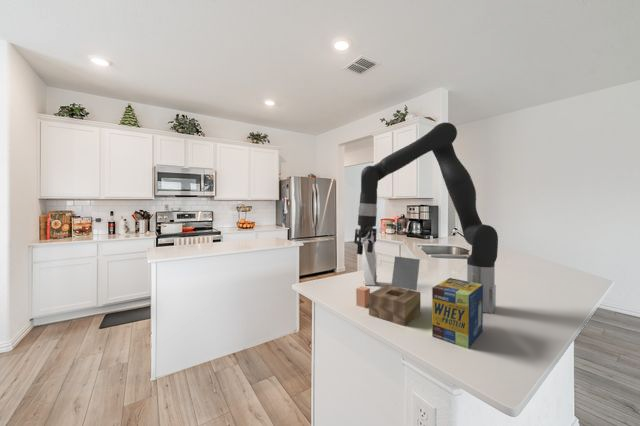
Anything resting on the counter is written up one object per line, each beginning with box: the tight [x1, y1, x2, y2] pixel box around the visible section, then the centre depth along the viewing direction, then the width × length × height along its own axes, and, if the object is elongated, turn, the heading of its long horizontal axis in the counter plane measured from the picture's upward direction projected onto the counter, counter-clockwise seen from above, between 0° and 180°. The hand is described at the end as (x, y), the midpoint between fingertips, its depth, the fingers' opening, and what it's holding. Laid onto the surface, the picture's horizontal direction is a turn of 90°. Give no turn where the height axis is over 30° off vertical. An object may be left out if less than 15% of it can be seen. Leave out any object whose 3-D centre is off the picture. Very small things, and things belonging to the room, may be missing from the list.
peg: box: [355, 286, 371, 309], centre depth 107 cm, size 4×4×7 cm
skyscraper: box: [362, 239, 380, 287], centre depth 136 cm, size 8×8×28 cm
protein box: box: [431, 277, 484, 349], centre depth 82 cm, size 10×15×16 cm
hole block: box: [368, 285, 422, 327], centre depth 98 cm, size 14×14×8 cm
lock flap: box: [390, 255, 420, 292], centre depth 105 cm, size 12×10×1 cm
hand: (364, 253), depth 109 cm, fingers open, 8 cm apart
